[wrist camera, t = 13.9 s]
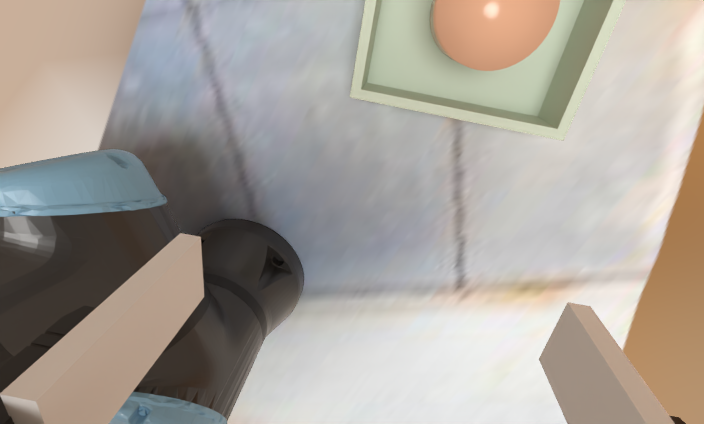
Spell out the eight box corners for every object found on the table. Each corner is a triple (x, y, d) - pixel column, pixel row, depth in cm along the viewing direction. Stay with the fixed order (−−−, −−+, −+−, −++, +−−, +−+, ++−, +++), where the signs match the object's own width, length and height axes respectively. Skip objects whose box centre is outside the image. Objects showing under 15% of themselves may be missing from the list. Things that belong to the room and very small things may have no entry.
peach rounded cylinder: (419, 54, 32) (423, 59, 25) (443, -48, 29) (455, -76, 22) (504, 71, 32) (532, 80, 25) (538, -31, 29) (582, -54, 21)
